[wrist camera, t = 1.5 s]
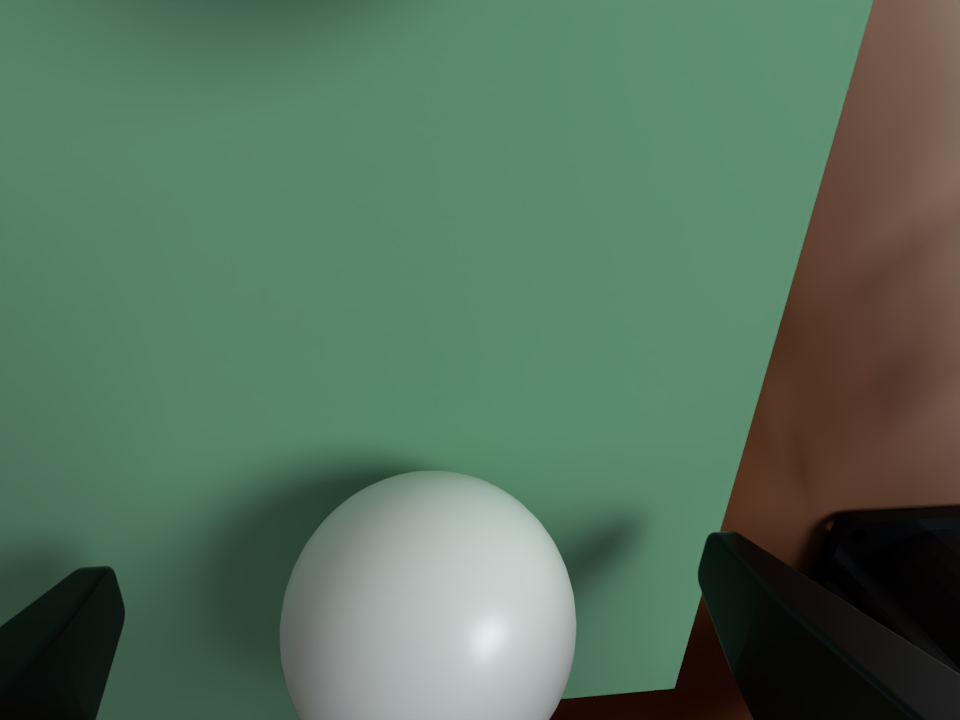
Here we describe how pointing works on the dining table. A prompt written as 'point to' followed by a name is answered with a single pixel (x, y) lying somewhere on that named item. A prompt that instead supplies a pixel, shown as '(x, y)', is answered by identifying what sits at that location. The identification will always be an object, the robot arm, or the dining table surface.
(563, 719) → the dining table surface
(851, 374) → the dining table surface
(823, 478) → the dining table surface
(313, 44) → the putting mat
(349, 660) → the white ball
